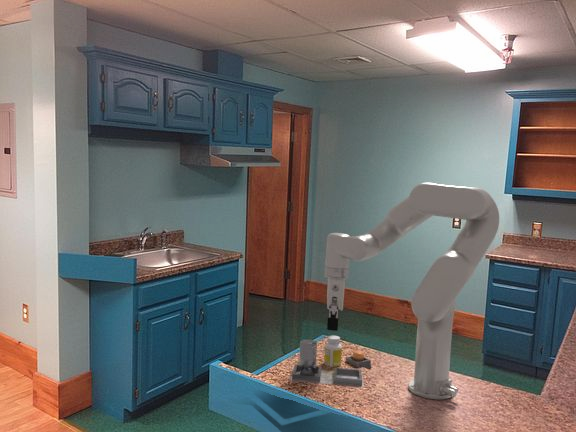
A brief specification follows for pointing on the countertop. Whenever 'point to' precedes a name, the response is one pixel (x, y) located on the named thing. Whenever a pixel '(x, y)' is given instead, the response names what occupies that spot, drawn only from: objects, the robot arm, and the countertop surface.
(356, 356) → the button
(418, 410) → the countertop surface
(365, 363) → the button base
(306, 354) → the cylinder
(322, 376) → the tray
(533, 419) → the countertop surface
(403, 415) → the countertop surface
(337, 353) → the supplement bottle
